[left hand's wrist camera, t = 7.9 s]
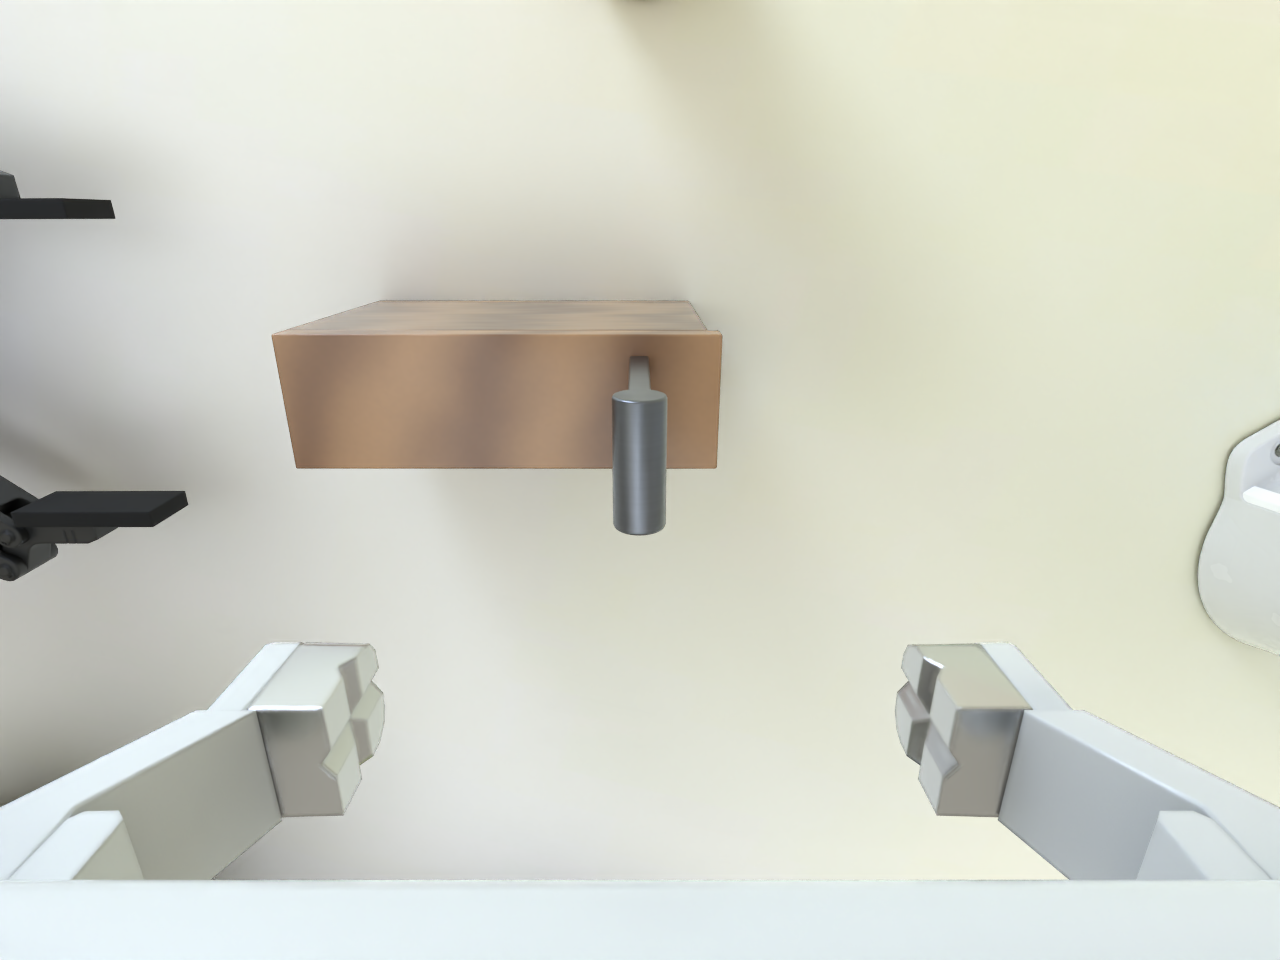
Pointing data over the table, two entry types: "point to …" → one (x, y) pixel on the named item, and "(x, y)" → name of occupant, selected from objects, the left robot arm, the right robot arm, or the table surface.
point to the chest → (514, 316)
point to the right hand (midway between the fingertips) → (134, 370)
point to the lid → (509, 403)
